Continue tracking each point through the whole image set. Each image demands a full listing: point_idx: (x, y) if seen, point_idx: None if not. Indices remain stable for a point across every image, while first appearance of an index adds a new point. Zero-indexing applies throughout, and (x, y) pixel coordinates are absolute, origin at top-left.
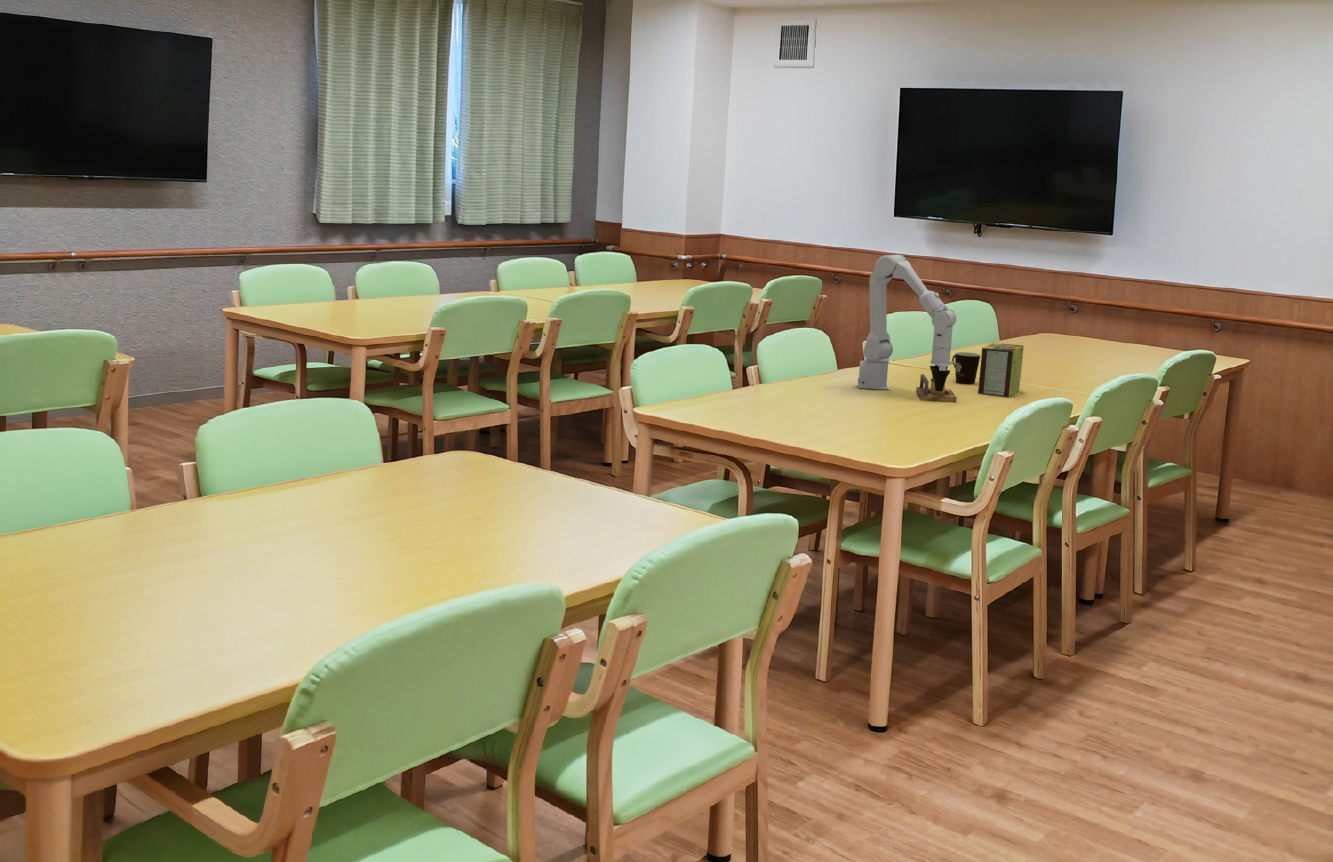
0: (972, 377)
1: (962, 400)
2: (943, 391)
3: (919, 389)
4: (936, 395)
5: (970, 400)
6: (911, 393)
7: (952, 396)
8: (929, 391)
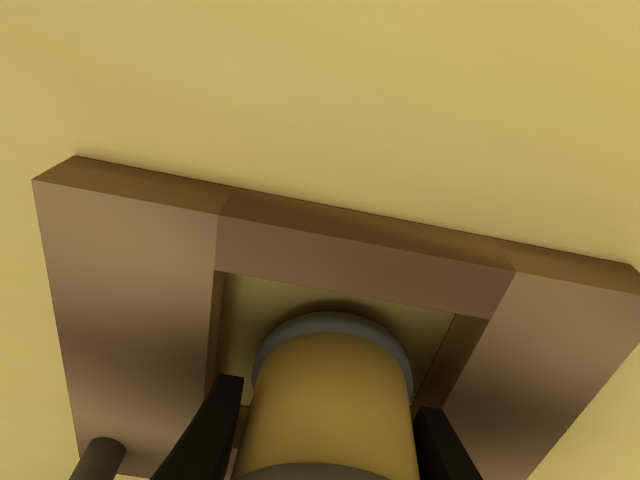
0: None
1: (529, 144)
2: (393, 375)
3: None
4: (516, 444)
5: (549, 12)
6: None
7: (608, 329)
8: None
